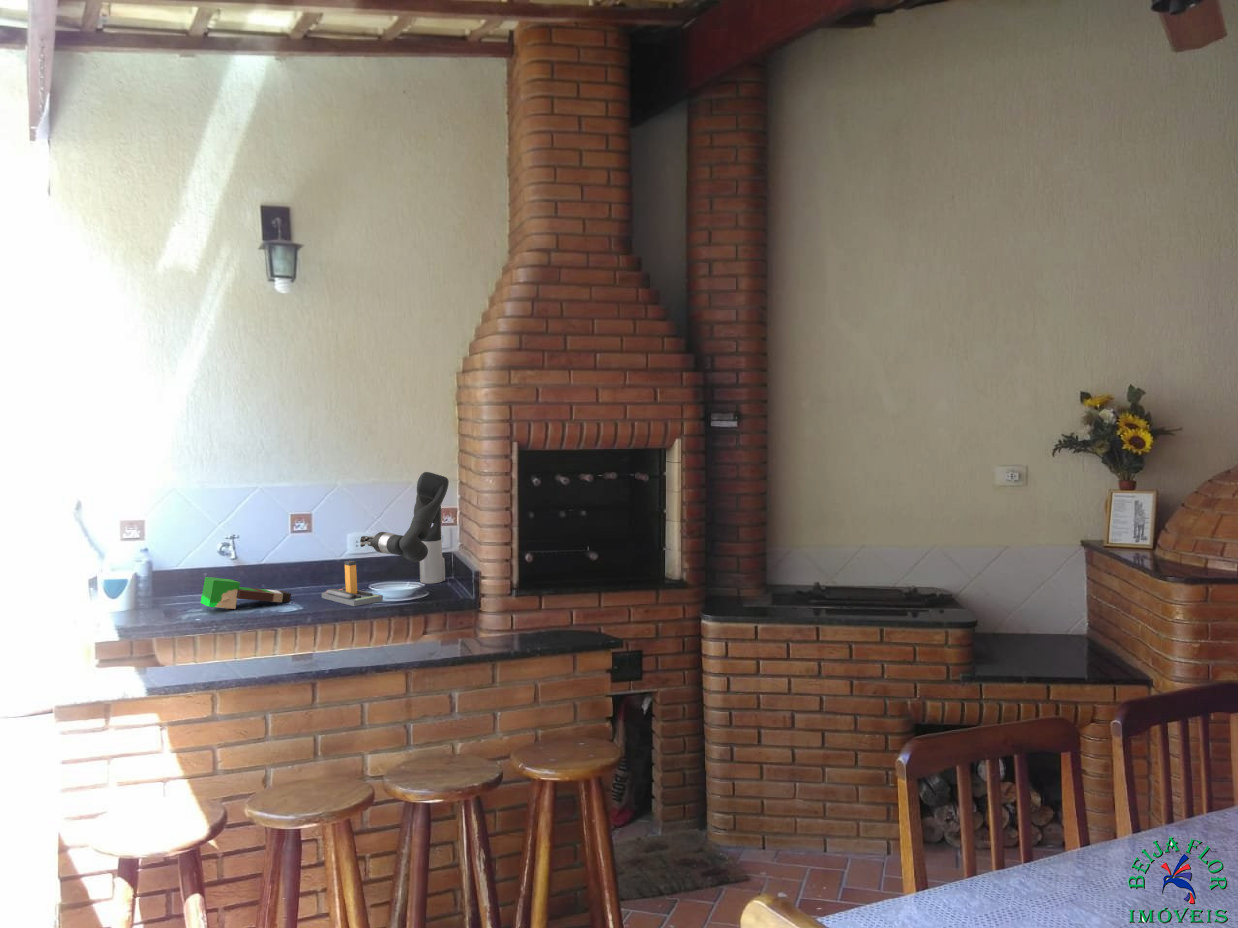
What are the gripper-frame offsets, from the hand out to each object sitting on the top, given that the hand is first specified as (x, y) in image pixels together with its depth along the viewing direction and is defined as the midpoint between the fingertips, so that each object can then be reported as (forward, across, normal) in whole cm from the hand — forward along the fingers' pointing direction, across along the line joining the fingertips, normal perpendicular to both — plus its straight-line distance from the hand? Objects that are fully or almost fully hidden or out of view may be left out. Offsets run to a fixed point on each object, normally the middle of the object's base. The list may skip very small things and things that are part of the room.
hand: (362, 539), depth 393 cm
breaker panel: (+10, 0, +24) cm, 26 cm away
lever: (+10, 0, +22) cm, 24 cm away
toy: (+30, +32, +24) cm, 50 cm away
